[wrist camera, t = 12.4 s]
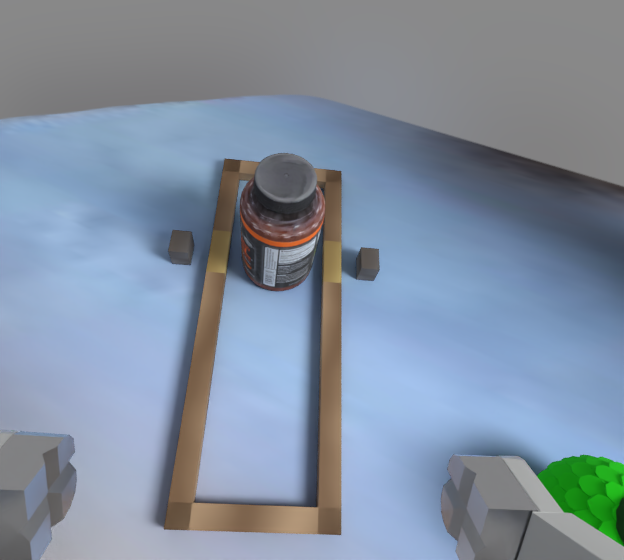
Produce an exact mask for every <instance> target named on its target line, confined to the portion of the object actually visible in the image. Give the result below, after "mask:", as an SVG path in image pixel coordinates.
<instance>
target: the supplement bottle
mask: <svg viewBox="0 0 624 560" xmlns="http://www.w3.org/2000/svg"><path fill="white" fill-rule="evenodd" d="M324 216H325V199H324V196H323V193H322V191H321V189H320V188H319V186H318V185H317V175H316V172H315V170H314V168H313V166H312V165H311V164H310V163H309V162H308V161H306V160H305V159H304V158H302V157H300V156H297V155H294V154H289V153H278V154H274V155H270V156H268V157H266V158H265V159H263V160H262V161H261V162H260V163H259V164H258V166H257V168H256V170H255V175H254V177H253V178H252V179H251V180H250V181H249V182H248V183H247V184H246V186H245V188H244V189H243V191H242V195H241V199H240V226H241V246H242V262H243V266H244V269H245V271H246V273H247V275H248V276H249V278H250V279H251V280H252V281H253V282H254V283H255V284H256V285H258V286H260V287H262V288H265V289H268V290H272V291H284V290H289V289H292V288H294V287H296V286H298V285H299V284H301V283H302V282H303V281H304V280H305V279H306V277H307V276H308V274H309V272H310V270H311V267H312V264H313V260H314V256H315V252H316V248H317V244H318V240H319V236H320V232H321V228H322V225H323V220H324Z"/></svg>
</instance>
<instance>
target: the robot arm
mask: <svg viewBox="0 0 624 560" xmlns="http://www.w3.org/2000/svg"><path fill="white" fill-rule="evenodd" d="M74 453H75V448H74V438H72V437H71V436H70V435H64V434H51V433H37V432H23V431H20V432H17V431H4V430H0V560H40V558H41V556H42V555H43V553H44V551H45V550H46V548H47V546H48V544H49V543H50V541H51V539H52V535H51V527H53V526H54V525H56V524H57V523H59V522H60V521H62V520H63V519H64V517H65V515H66V514H67V512H68V510H69V508H70V506H71V503H72V500H73V497H74V494H75V489H76V481H77V477H76V469H75V468H74V467H73V466H72V465H71V463H70V462H69V460H70V459H71V457H72V456H73V454H74ZM447 470H448V472H449V474H450V476H451V479H450V480H449V481H448V482H447V483H446V484H445V485H444V486H443V490H442V495H441V513H442V517H443V521H444V524H445V527H446V529H447V532H448V533H449V534H450V535H451V536H452V537H454V538H455V539H456V540H457V541H458V543H457V547H456V553H457V556H458V558H459V560H624V547H623V546H622V545H620V544H619V543H617V542H616V541H614V540H613V539H611V538H609V537H608V536H606V535H605V534H603V533H602V532H600V531H598V530H597V529H595V528H594V527H592V526H591V525H589V524H588V523H586V522H584V521H583V520H581V519H580V518H578V517H577V516H575V515H573V514H572V513H564V512H563V510H562V509H561V508H560V506H559V505H558V504H557V503H556V501H555V500H554V499H553V497H552V496H551V495H550V493H549V492H548V491H547V489H546V488H545V487H544V485H543V484H542V483H541V481H540V480H539V479H538V477H537V476H536V475H535V473H534V472H533V471H532V469H531V468H530V467H529V465H528V464H527V463H526V462H525V460H524V459H522V458H521V457H519V456H478V455H456V454H453V455H452V457H451V459H450V460H449V464H448V468H447Z"/></svg>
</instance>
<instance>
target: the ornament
mask: <svg viewBox="0 0 624 560" xmlns="http://www.w3.org/2000/svg"><path fill="white" fill-rule="evenodd" d="M547 467H548V468H547V469H545V470H543V471H541V472H540V473H539V474H538V475H537V477H538V479H539V480H540V481H541V483H542V484H543V485H544V487H545V488H546V489H547V491H548V492H549V493H550V495H551V496H552V497H553V499H554V500H555V501H556V503H557V504H558V505H559V506H560V508H561V509H562V510H563V512H564V513H572V514H573V515H575V516H577V517H578V518H580V519H581V520H583V521H584V522H586V523H588V524H589V525H591V526H592V527H594V528H595V529H597V530H598V531H600V532H602V533H603V534H605V535H606V536H608V537H609V538H611V539H613V540H614V541H616V542H617V543H619V544H620V545H622V546H623V547H624V465H623V464H622V463H619V462H614V461H612V460H610V459H607V458H604V457H599V458H596V457H593V456H589V455H580V457H575V456H572V457H569V458H564V459H562V461H556V462H552V463H551V464H550V465H548V466H547Z"/></svg>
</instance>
